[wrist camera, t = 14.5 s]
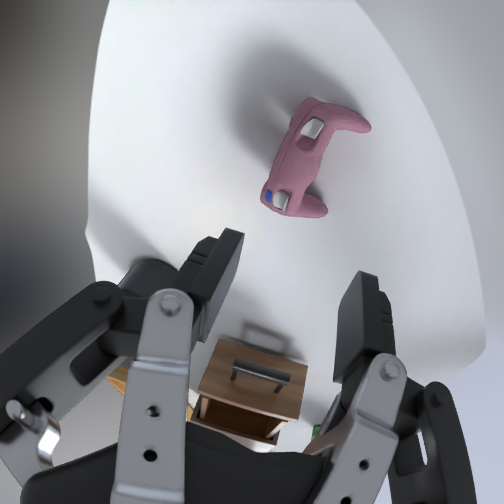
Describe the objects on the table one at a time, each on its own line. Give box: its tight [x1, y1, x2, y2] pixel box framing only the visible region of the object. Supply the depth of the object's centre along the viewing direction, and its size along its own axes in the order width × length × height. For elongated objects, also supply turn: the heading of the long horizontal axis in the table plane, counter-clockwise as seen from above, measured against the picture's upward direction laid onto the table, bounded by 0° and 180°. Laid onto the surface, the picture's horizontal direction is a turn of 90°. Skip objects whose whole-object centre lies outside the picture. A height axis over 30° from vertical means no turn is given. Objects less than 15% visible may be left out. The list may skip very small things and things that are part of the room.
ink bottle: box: [117, 260, 177, 369], centre depth 33 cm, size 10×9×12 cm
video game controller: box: [260, 97, 371, 218], centre depth 21 cm, size 10×5×7 cm, turn 161°
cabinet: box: [190, 394, 280, 452], centre depth 48 cm, size 16×15×11 cm
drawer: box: [197, 339, 308, 439], centre depth 39 cm, size 19×13×9 cm
